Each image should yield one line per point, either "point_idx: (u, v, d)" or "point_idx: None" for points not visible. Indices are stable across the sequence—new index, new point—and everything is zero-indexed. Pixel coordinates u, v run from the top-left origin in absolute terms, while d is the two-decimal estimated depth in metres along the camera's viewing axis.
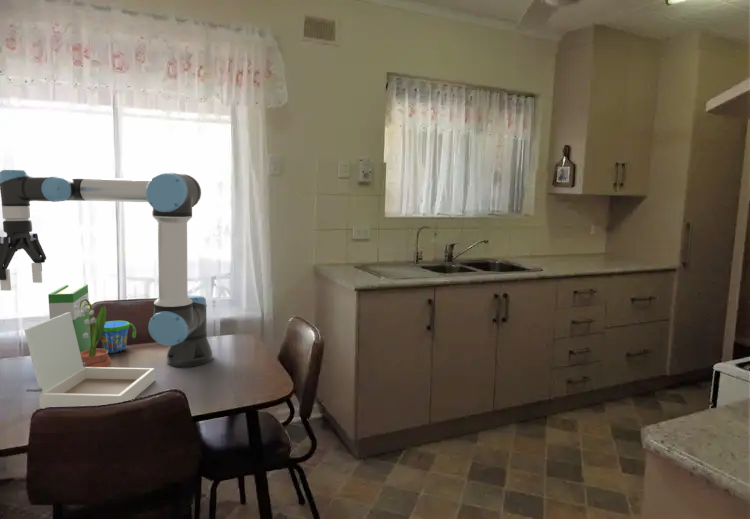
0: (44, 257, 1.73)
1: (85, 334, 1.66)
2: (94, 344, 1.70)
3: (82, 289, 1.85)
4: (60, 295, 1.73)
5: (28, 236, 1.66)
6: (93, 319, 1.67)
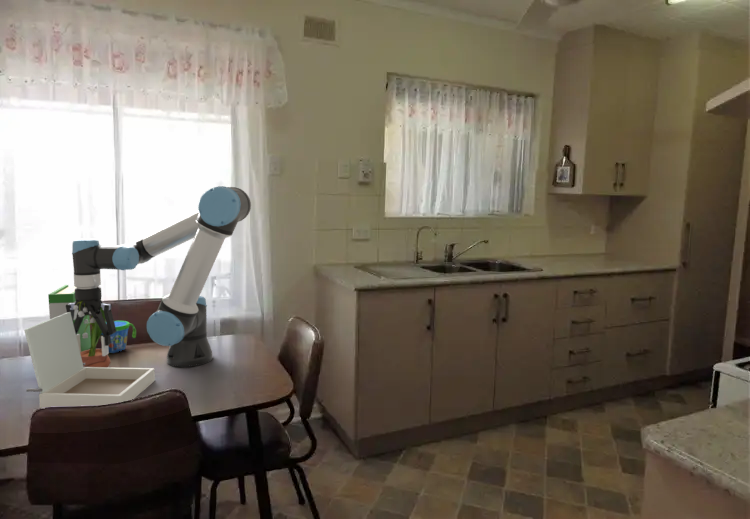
0: (110, 331, 1.67)
1: (85, 334, 1.66)
2: (94, 344, 1.70)
3: None
4: (60, 295, 1.73)
5: (95, 304, 1.66)
6: (93, 319, 1.67)
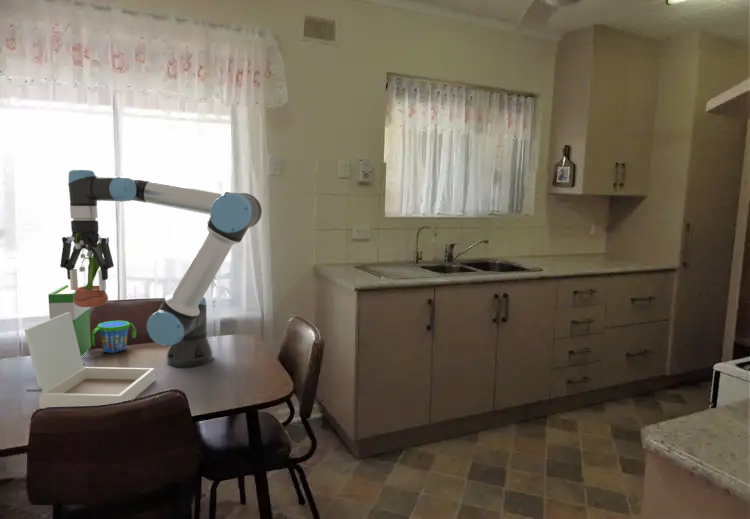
0: (107, 265, 1.64)
1: (82, 267, 1.64)
2: (91, 279, 1.67)
3: None
4: (60, 295, 1.73)
5: (92, 236, 1.63)
6: (90, 252, 1.64)
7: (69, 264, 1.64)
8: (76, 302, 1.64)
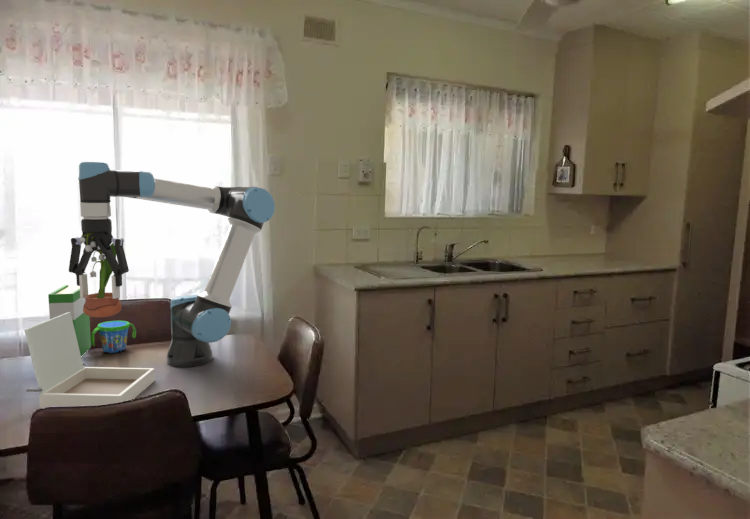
0: (121, 270, 1.45)
1: (93, 272, 1.45)
2: (103, 285, 1.48)
3: None
4: (60, 295, 1.73)
5: (105, 237, 1.44)
6: (102, 255, 1.45)
7: (79, 269, 1.45)
8: (86, 311, 1.45)
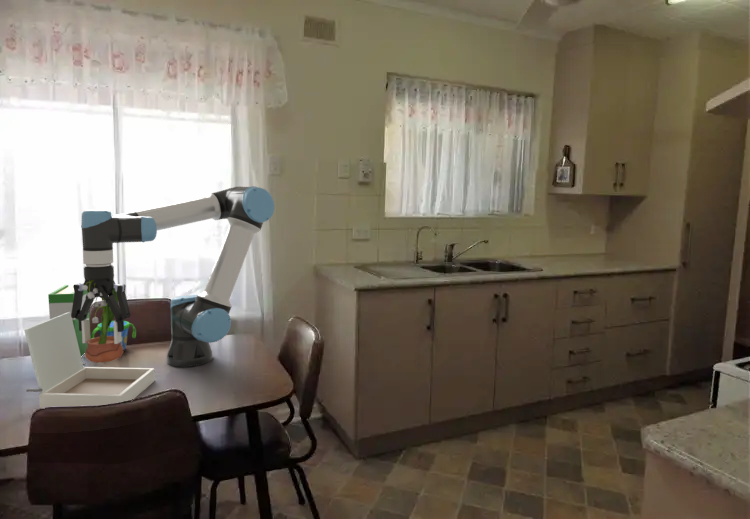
0: (123, 316, 1.47)
1: (95, 318, 1.46)
2: (105, 330, 1.50)
3: None
4: (60, 295, 1.73)
5: (107, 284, 1.46)
6: (104, 302, 1.47)
7: (81, 314, 1.47)
8: (88, 357, 1.46)
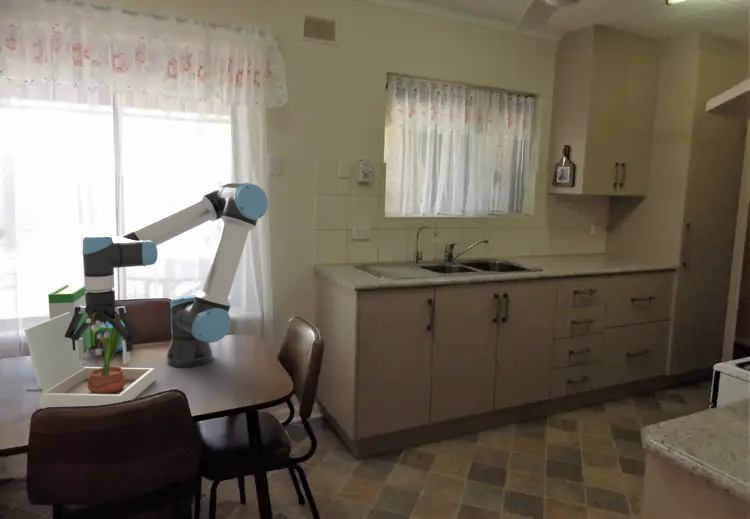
0: (132, 336, 1.48)
1: (98, 350, 1.48)
2: (107, 362, 1.51)
3: (82, 289, 1.85)
4: (60, 295, 1.73)
5: (108, 309, 1.47)
6: (107, 334, 1.49)
7: (75, 335, 1.48)
8: (91, 389, 1.48)
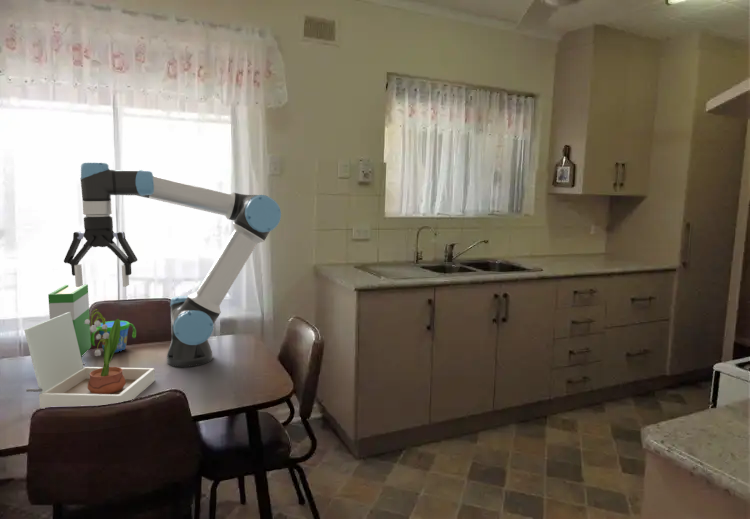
0: (131, 259, 1.54)
1: (97, 351, 1.48)
2: (107, 362, 1.51)
3: (82, 289, 1.85)
4: (60, 295, 1.73)
5: (107, 234, 1.53)
6: (106, 334, 1.49)
7: (75, 260, 1.53)
8: (91, 389, 1.48)
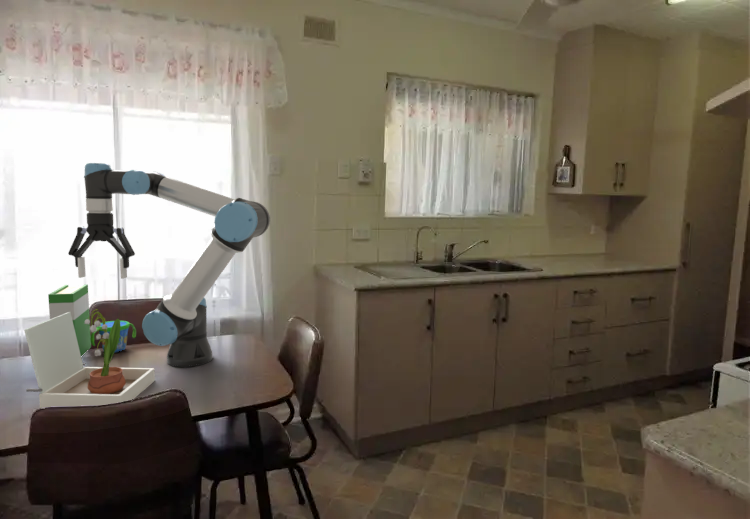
0: (128, 253, 1.66)
1: (97, 351, 1.48)
2: (107, 362, 1.51)
3: (82, 289, 1.85)
4: (60, 295, 1.73)
5: (107, 229, 1.65)
6: (106, 334, 1.49)
7: (78, 252, 1.66)
8: (91, 389, 1.48)
